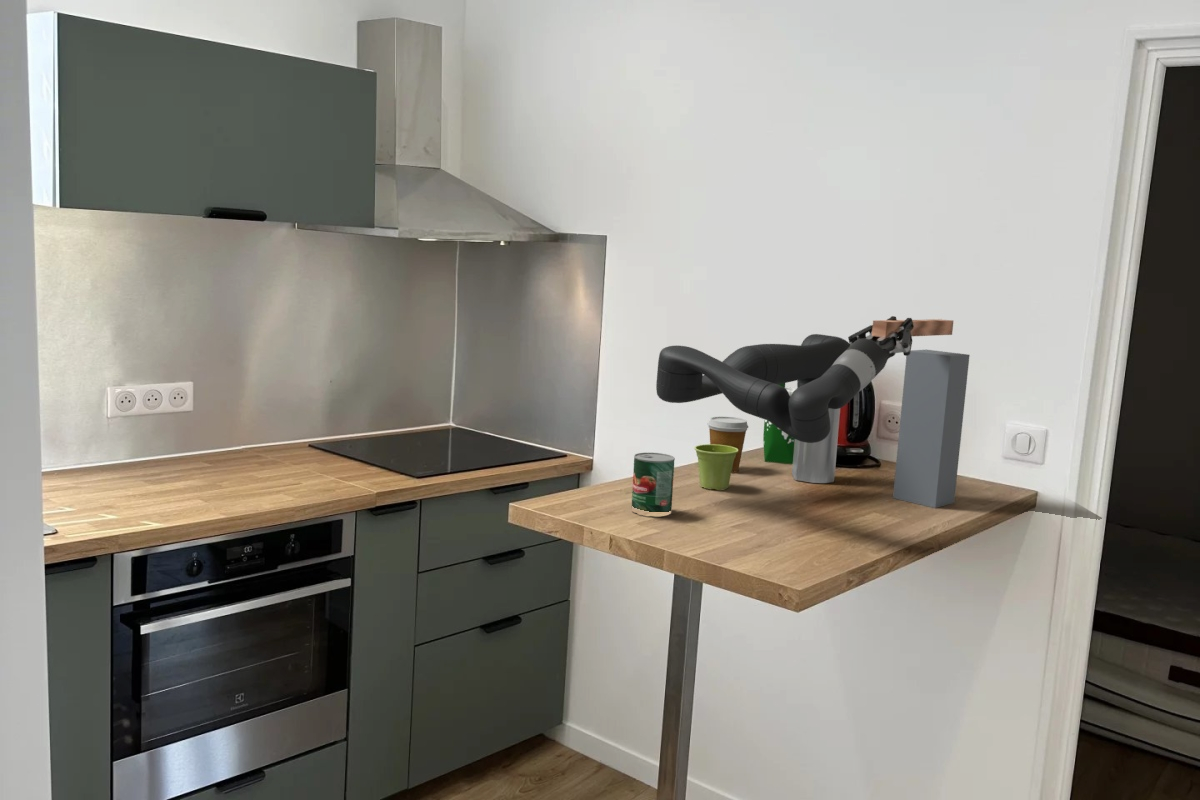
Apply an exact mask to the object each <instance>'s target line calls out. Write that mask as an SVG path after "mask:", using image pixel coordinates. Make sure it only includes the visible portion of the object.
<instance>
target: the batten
mask: <svg viewBox="0 0 1200 800" xmlns="http://www.w3.org/2000/svg"><path fill="white" fill-rule="evenodd" d="M905 320H906V319H897V320H887V319H886V320H872V325H873V328H872V336H877V337H886V336H887V335H888V334H889V333H890V332H891V331H895V330H896V329H897V328H898V327H899V326H900V325H901V324H902V323H903V322H904V321H905ZM912 321H913V325H914V328H913V329H912V330H911V336H912V337H927V336H929V337H930V336H952V335H953V329H954V320H952V319H951V320H949V319H942V318H941V319H940V318H938V319H934V318H933V319H912ZM898 337H899V334H898Z"/></svg>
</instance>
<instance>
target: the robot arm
mask: <svg viewBox="0 0 1200 800" xmlns="http://www.w3.org/2000/svg"><path fill="white" fill-rule="evenodd" d="M886 320H898V319H897V316H893V315H892V316H890V317H889V318H887V319H886ZM904 320H905V321H904V322H903V323H902V324H901V325H900V326H899V327H898V328H897V329H896V330H895V331H891V332H890V333H889V334H888V335H887V336H886V337H877V336H872V328H873V324H871V325H870V324H869V326H865V328H862V329H860V330H859V331H857V332H855V333H853V334H851V335H849V336H847V337H848V341H847V340H846V339H844V338H842V337H839V336H835V335H827V334H818V333H815V334H814V333H813V334H810V335H808V336H806V337H805V338H804V339H803V341H802V342H801V344H800V345H797V344H786V343H785V344H784V343H760V344H753V345H745V346H743V347H740V348H737V349H736V350H734V351H733V352H731V353H730V354H729V355H728V356H727V357H726V358H724V359H723V360H722V361H721V360H719V359H717V358H715V357H713V356H712V355H709V354H707V353H705V352H703V351H701V350H698V349H697V348H694V347H690V346H686V345H669V346H666V347H663V348H661V350H660V352H659V355H658V362H657V372H656V373H657V375H656V382H655V383H656V384H655V386H656V395H657V397H658V399H660V400H662V401H663V402H667V403H670V404H672V403H673V404H681V403H682V404H683V403H689V402H695V401H700V400H703V399H707V398H710V397H714V396H717V395H721V394H723V395H724V397H725V398H726V399H727V400H728V401H729V402H730V403H731V405H733V406H734V407H735V408H736V409H737V410H739V411H741V412H743V413H746V414H748V415H751V416H754V417H757V418H759V419H762V420H768V421H769V422H771V423H772V424H773V425H775V426H776V427H777V428H779V429H780V430H782V431H783V432H785V433H786V434H788V435H789V436H791V437H792V438H794V439H795V442H794V454H793V464H792V468H791V476H792V477H793V479H794V480H795V481H799V482H800V481H801V482H805V483H813V484H830V483H834V481H835V475H836V463H837V453H838V452H837V451H838V440H839V439H838V437H839V428H840V414H841V408H843V407H845V406H846V405H847V404H848V403H850V401H852V399H853V398H855V396H856V395H857V394H858V393H859V392H861V391H862V390H863V389H865V388H866V387H867V386H868V385H869V384H870V383H871V382H872V381H873V380H874V378H876V377H877V376H878V375H879V374H880V373H881V372H882V370H883V369H884V368H885V367H886V365H887V362H888V360H889V359H890V358H892V357H894V356H895V355H896V354H898V353H903V356H905V357H906V356H908V355H910V352H911V350H912V347H913V336H911V330H912V329H913V328H914V325H913V321H912V320H913V318H912V317H906V319H904ZM867 333H869V335H866V334H867ZM898 334H899V337H898ZM791 382H792V383H793V382H797V383H796V387H797V388H795V389H796V390H795V391H794V392H793V393H792V395H791V397H790V395H789V393H788V391H787V390H786V389H785V388H784V387H782V386H780V385H777V384H782V383H785V384H787V383H791Z"/></svg>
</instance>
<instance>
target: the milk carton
mask: <svg viewBox="0 0 1200 800" xmlns="http://www.w3.org/2000/svg"><path fill="white" fill-rule="evenodd" d="M777 385H780V386H782V387H784V388H785V389H786V390H787V391H788V393H789V395H790V397H791V395H792V393H793V392H794V391H795V390H796V389H797V388H793V387H788V386H787V387H786V383H782V384H777ZM763 421H764V422H763V436H762V437H763V440H762V441H763V443H762V444H763V455H764V456H763V457H764V462H767V463H776V464H777V463H778V464H789V465H793V454H794V442H795V439H794V438H792V437H791V436H789V435H788V434H786V433H785V432H783V431H782V430H780V429H779V428H777V427H776V426H775V425H773V424H772V423H771V422H769V421H768V420H765V419H763Z"/></svg>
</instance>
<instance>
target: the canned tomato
mask: <svg viewBox="0 0 1200 800" xmlns="http://www.w3.org/2000/svg"><path fill="white" fill-rule="evenodd" d="M633 457H634V459H633V476H632V496H631V507H632V506H633V507H634V508H637V509H640V510H644V511H649V512H669V511H672V507H673V493H674V473H675V460H676V459H675V458H676V457H675V456H673V455H671V454H667V453H662V452H638V453H634V455H633Z"/></svg>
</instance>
